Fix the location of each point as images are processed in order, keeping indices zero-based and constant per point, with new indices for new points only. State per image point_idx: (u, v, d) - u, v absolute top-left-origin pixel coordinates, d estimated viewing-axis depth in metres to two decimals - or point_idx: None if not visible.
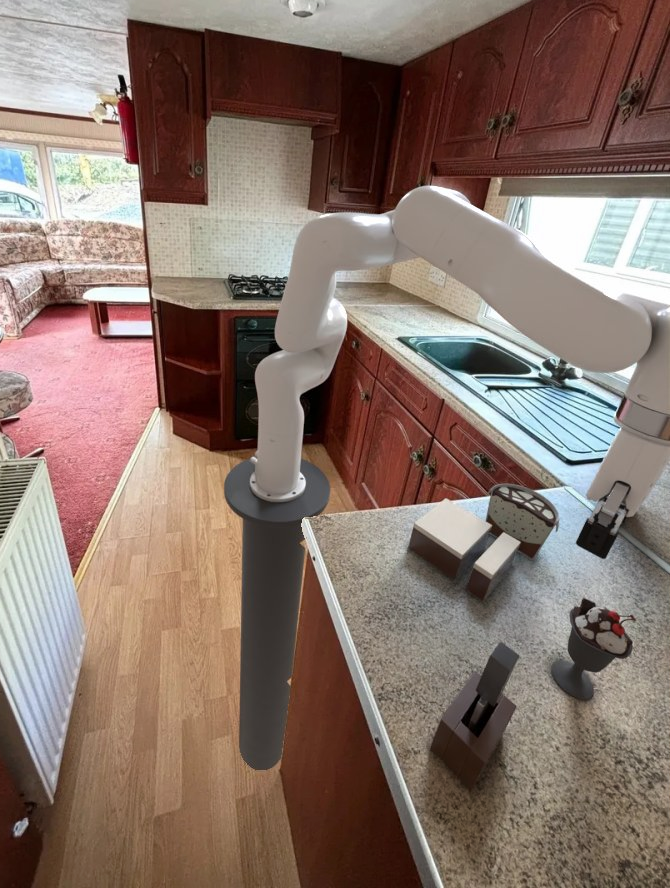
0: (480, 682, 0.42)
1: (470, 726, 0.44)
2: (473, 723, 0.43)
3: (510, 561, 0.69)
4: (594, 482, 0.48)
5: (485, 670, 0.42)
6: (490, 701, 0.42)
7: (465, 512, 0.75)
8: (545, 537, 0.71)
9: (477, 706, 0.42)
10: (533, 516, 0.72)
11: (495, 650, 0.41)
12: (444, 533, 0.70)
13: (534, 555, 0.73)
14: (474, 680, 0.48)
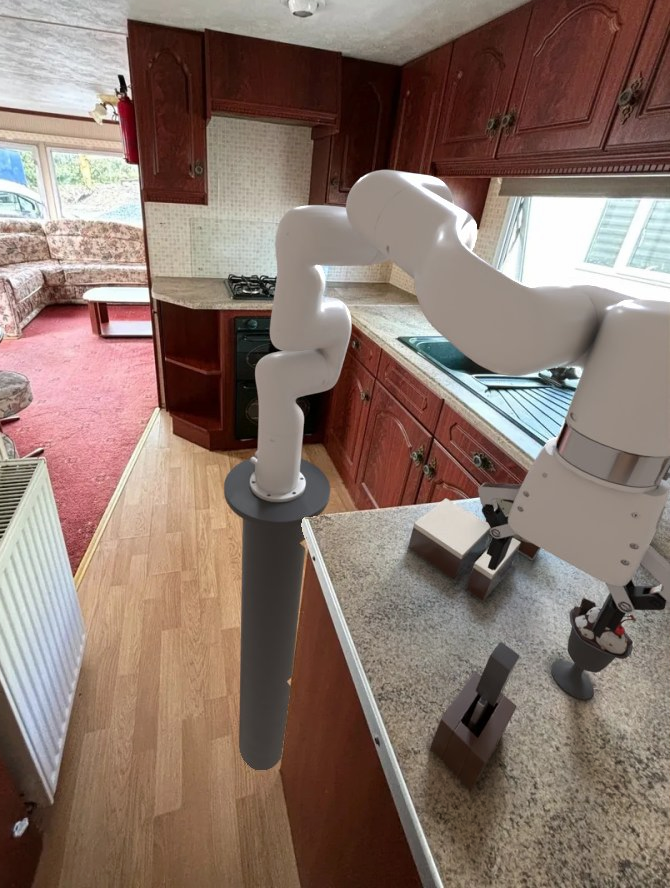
0: (480, 682, 0.42)
1: (470, 726, 0.44)
2: (473, 723, 0.43)
3: (510, 561, 0.69)
4: None
5: (485, 670, 0.42)
6: (490, 701, 0.42)
7: (465, 512, 0.75)
8: None
9: (477, 706, 0.42)
10: None
11: (495, 650, 0.41)
12: (444, 533, 0.70)
13: (534, 555, 0.73)
14: (474, 680, 0.48)
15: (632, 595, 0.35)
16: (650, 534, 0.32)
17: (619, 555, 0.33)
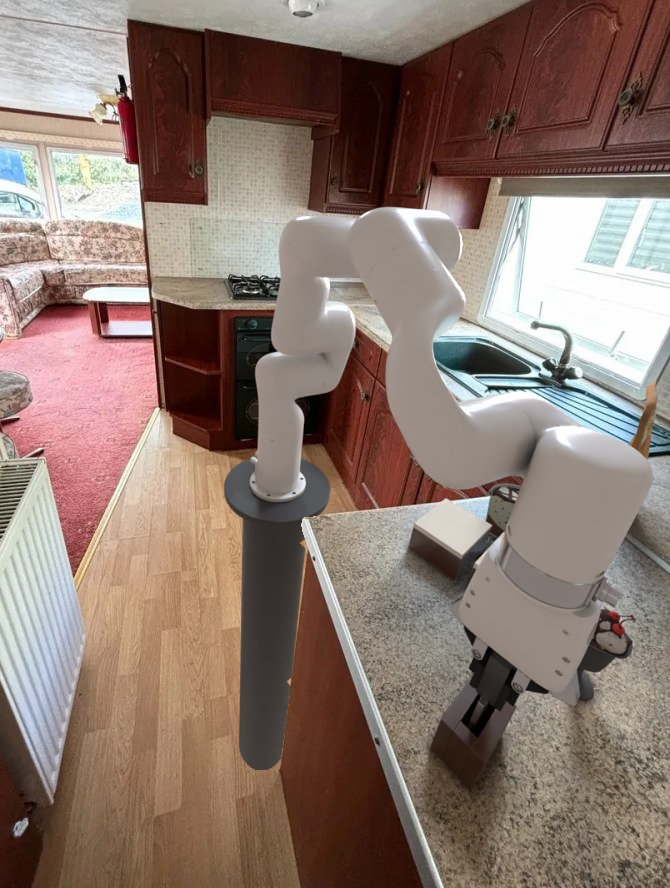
0: (480, 682, 0.42)
1: (470, 726, 0.44)
2: (473, 723, 0.43)
3: None
4: None
5: (485, 670, 0.42)
6: (490, 701, 0.42)
7: (465, 512, 0.75)
8: None
9: (477, 706, 0.42)
10: None
11: None
12: (444, 533, 0.70)
13: None
14: None
15: None
16: (580, 650, 0.33)
17: (553, 665, 0.35)
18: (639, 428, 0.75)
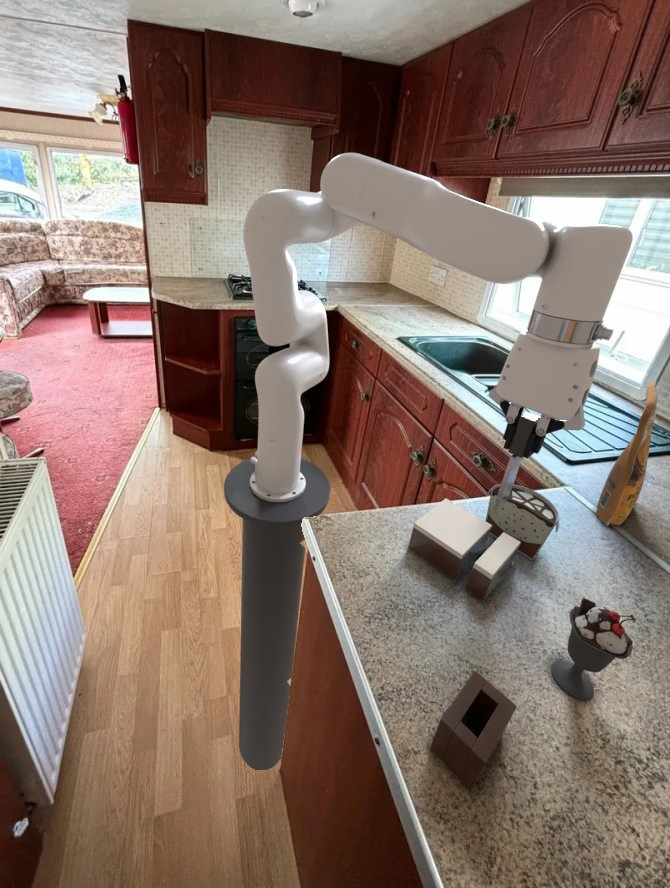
0: (512, 442, 0.58)
1: (504, 480, 0.60)
2: (506, 476, 0.59)
3: (510, 561, 0.69)
4: None
5: (516, 430, 0.57)
6: (519, 455, 0.58)
7: (465, 512, 0.75)
8: (545, 537, 0.71)
9: (510, 460, 0.58)
10: (533, 516, 0.72)
11: (523, 414, 0.57)
12: (444, 533, 0.70)
13: (534, 555, 0.73)
14: (474, 680, 0.48)
15: None
16: (585, 377, 0.49)
17: (567, 395, 0.51)
18: (639, 428, 0.75)
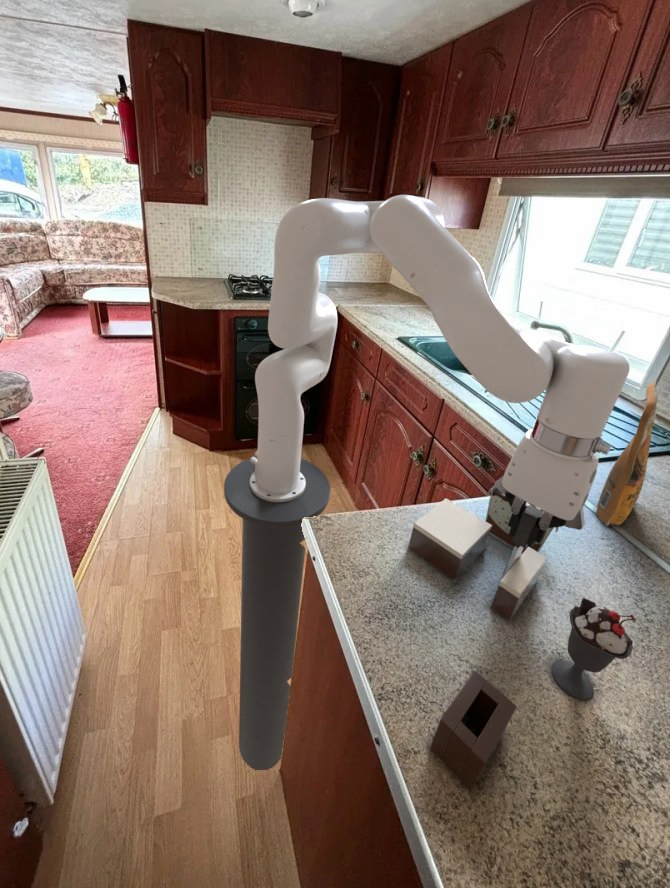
0: (515, 533, 0.62)
1: (507, 566, 0.64)
2: (510, 563, 0.63)
3: (536, 577, 0.66)
4: None
5: (519, 523, 0.62)
6: (522, 545, 0.62)
7: (465, 512, 0.75)
8: (545, 537, 0.71)
9: (513, 549, 0.62)
10: None
11: (526, 509, 0.61)
12: (444, 533, 0.70)
13: None
14: (474, 680, 0.48)
15: None
16: (585, 486, 0.53)
17: (568, 500, 0.55)
18: (639, 428, 0.75)
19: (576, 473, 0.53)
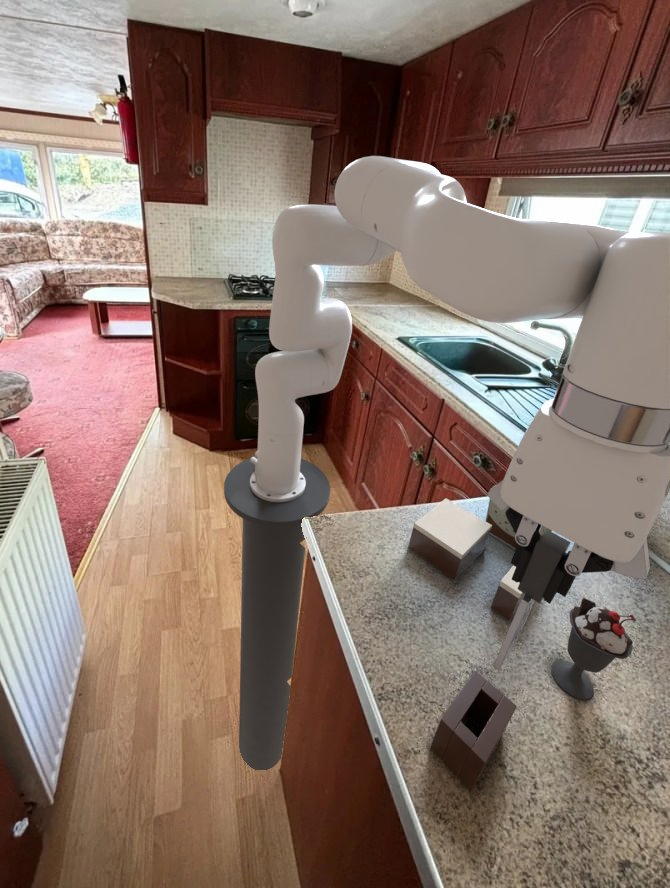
0: (524, 577, 0.37)
1: (511, 630, 0.39)
2: (515, 626, 0.38)
3: None
4: None
5: (530, 561, 0.36)
6: (536, 597, 0.37)
7: (465, 512, 0.75)
8: None
9: (520, 604, 0.37)
10: None
11: (542, 537, 0.36)
12: (444, 533, 0.70)
13: None
14: (474, 680, 0.48)
15: None
16: (658, 501, 0.28)
17: (623, 526, 0.30)
18: None
19: (640, 477, 0.28)
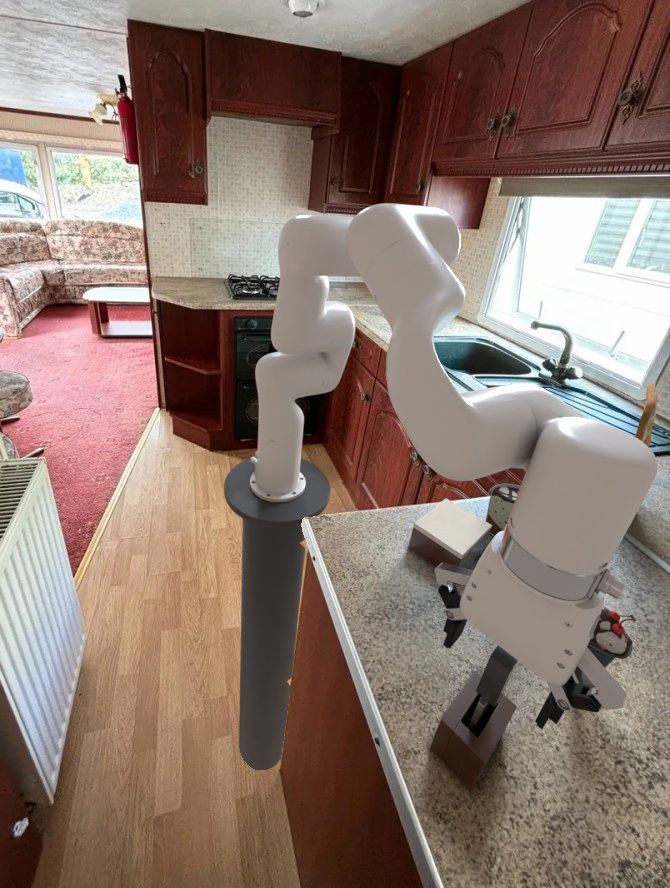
0: (480, 682, 0.42)
1: (470, 726, 0.44)
2: (474, 723, 0.43)
3: None
4: None
5: (485, 670, 0.42)
6: (490, 701, 0.42)
7: (465, 512, 0.75)
8: None
9: (477, 706, 0.42)
10: None
11: (495, 650, 0.41)
12: (444, 533, 0.70)
13: None
14: (474, 680, 0.48)
15: (571, 693, 0.36)
16: (583, 643, 0.33)
17: (555, 658, 0.35)
18: (639, 428, 0.75)
19: (568, 623, 0.33)
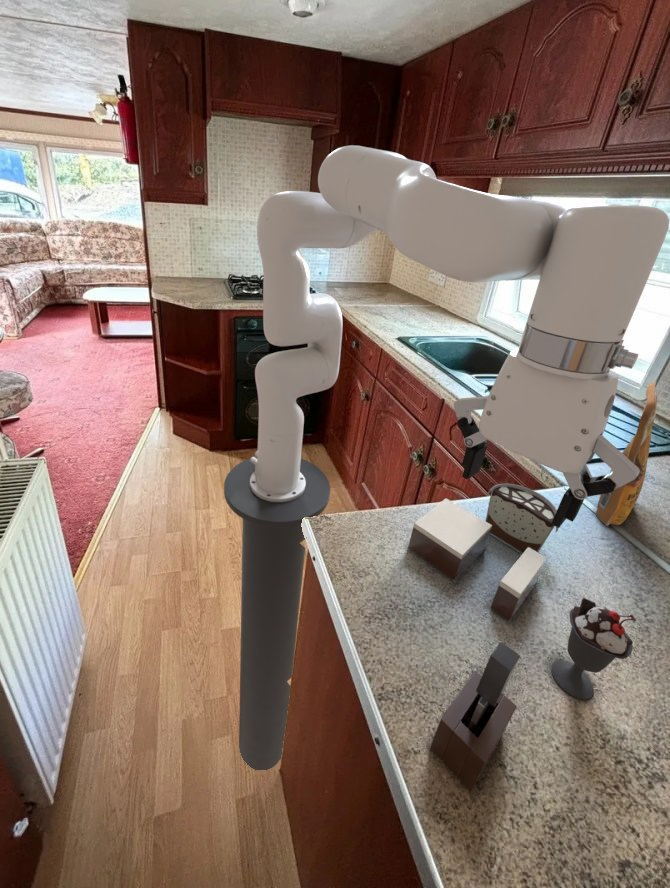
0: (480, 682, 0.42)
1: (470, 726, 0.44)
2: (474, 723, 0.43)
3: (536, 578, 0.66)
4: None
5: (485, 670, 0.42)
6: (490, 701, 0.42)
7: (465, 512, 0.75)
8: (545, 537, 0.71)
9: (477, 706, 0.42)
10: (533, 516, 0.72)
11: (495, 650, 0.41)
12: (444, 533, 0.70)
13: None
14: (474, 680, 0.48)
15: (586, 483, 0.38)
16: (599, 419, 0.36)
17: (572, 442, 0.37)
18: (639, 428, 0.75)
19: (584, 400, 0.35)
